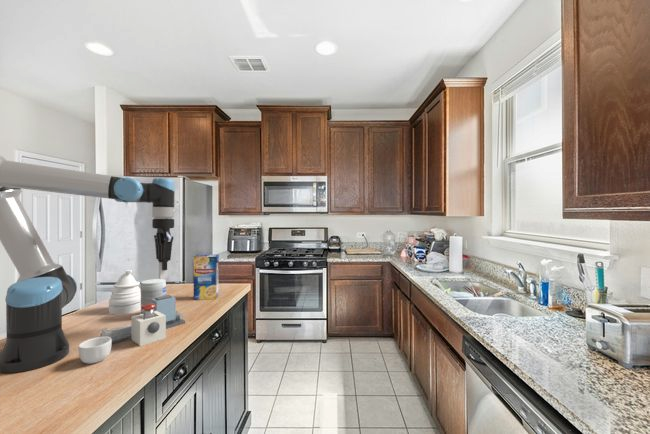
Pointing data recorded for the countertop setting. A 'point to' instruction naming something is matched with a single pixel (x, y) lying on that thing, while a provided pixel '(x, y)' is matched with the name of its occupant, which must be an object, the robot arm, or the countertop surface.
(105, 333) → the rail
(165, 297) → the carriage
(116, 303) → the honey pot
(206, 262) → the blue cardboard box
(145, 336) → the white push button housing
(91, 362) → the teacup
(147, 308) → the plunger
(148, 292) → the supplement tub
